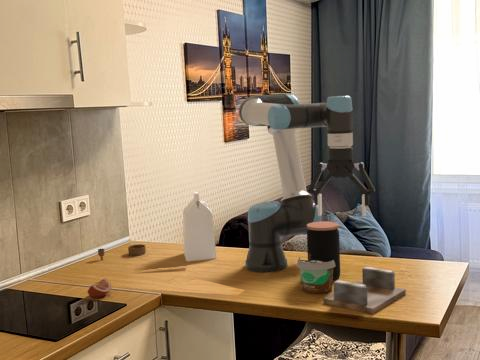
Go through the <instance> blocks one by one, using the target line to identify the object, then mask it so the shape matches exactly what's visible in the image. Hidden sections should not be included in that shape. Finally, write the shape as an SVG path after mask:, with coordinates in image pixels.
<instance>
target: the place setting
mask: <svg viewBox="0 0 480 360" xmlns="http://www.w3.org/2000/svg"><path fill="white" fill-rule="evenodd" d="M127 249H128V250H127V251H128V254H129V256H130V257H131V256H132V257H135V259H138V258H139V259H140V258H141V256H143V255H145V254H146V252H147V248H146V245H145V244H132V245H129V246H128V247H127ZM97 254H98V256H99V257H100V261H104V258H103V257H104V256H105V248H98V249H97ZM150 255H151V254H148V255H145V256H143V258H144V257H147V256H150ZM129 256H128V257H127V256H124V255H122V257H123V258H128V259H129V258H130V257H129ZM151 256H152V255H151Z"/></svg>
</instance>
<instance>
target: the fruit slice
mask: <svg viewBox="0 0 480 360" xmlns="http://www.w3.org/2000/svg"><path fill="white" fill-rule="evenodd" d="M111 290H112V285H111V283H110V282H109V281H108V279H107V278H103V279H101V280H100V281H98V282H95V283H93V284H92V285H91V286H89V289H88V290H87V294H88V295H89V296H90V297H93V298H101V297H104V296H105V295H107V294H109V292H111Z"/></svg>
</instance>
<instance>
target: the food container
mask: <svg viewBox="0 0 480 360" xmlns="http://www.w3.org/2000/svg"><path fill="white" fill-rule="evenodd" d="M296 266H297V267H298V268H299V273H300V274H299V276H300V281H301V288H302V292H303V293H305V292H306V294H308V293H309V294H308V295H325V294H329V293H331V292H332V291H333V282H334V280H333V268H334V267H335V262H334V260H332V261H330V262H323V261H319V260H308V259H307V260H306V259H301V257H300V256H299V257H298V259H297V263H296Z"/></svg>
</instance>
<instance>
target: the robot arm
mask: <svg viewBox="0 0 480 360" xmlns="http://www.w3.org/2000/svg"><path fill="white" fill-rule="evenodd" d="M352 102H353V100H352V97H351V96H350V95H336V96H328V97H327V99H326V102H316V103H314V102H313V103H302V104H301V103H300V101H299V99H298V98H297V97H296V96H295V95H293V94H291V93H288V94H287V93H280V94H261V95H252V96H249V97H247V98H245V99H244V100H243V101H242V102H241V103H240V105H239V107H238V116H239V120H241V122H242V123H244V124H246V125H247V126H251V127H267V128H266V129H267V132H268V133H269V134H270V135H272V138H273V143H274V148H275V154H276V160H277V166H278V171H279V177H280V182H281V187H282V192H283V197H282V198H281V200H280V201H278V200H271V201H263V202H262V201H261V202H259V203H255V204H252V205H251V206H250V207H249V208H248V210H247V223H248V241H249V242H248V243H249V247H248V251H247V255H246V259H245V263H244V264H245V269H246V270H247V271H249V272H254V273H260V274H261V273H263V274H264V273H265V274H267V273H277V272H280V271H283V270H286V269H288V259H287V257H286V254H285V251H284V248H283V243H282V239H283V238H284V237H293V236H299V235H303V236H304V235H305V236H307V231H308V228H307V224H309V223H312V222H322V215H323V198H322V197H323V195H322V193H320V192H321V191H322V190H323V189H324V187H325V186H326V185H327V184H328V183H329V182H330V180H331V179H332V178H335V179H338V178H342V179H343V178H344V179H346V178H347V177H348V178H349V179H350V180H351V181H352V182H353V184H355V186H356V187H357V188H358V189H359V190H360V192H362V195H361V215H362V216H361V217H362V218H366V216H367V207H368V206H369V205H370V195H372V194H374V193H375V192H376V188H375V186H374V185H373V183H372V180H371V178H370V177H369V175H368V173H367V171H366V169H365V162H364V161H363V162H362V161H361V162H358V163H355V162H354V148H353V147H352V146H353V145H354V137H353V136H354V134H353V110H354V109H353V103H352ZM306 128H307V129H308V128H327V129H326V130H327V147H329V148H328V149H327V163H323V162H319V163H318V164H317V170H316V173H315V175H314V177H313V179H312V181H311V183H310V186H309V187H308V190H307V185H306V181H305V175H304V170H303V169H304V168H303V166H302V165H303V164H302V160H301V155H300V149H299V144H298V139H297V134H296V131H297V129H306ZM355 168H356V170H357V171H359V173H360V175H361V177H362V178H363V181H364V183H365V185H366V186H365V185H364V184H363V183H362V181H360V179H359V178H358V176H356V174H355V173H354V172H353V171H354V169H355ZM326 169H327V170H328V171H329V173H328V174H327V176H326V177H325V178H324V179H323V181H322V182H321V183H320V184H319V185H318V187H316V186H317V184H318V182H319V179H320V178H321V175H322V173H323V171H325V170H326ZM315 188H316V189H315ZM312 195H313V196H312ZM313 198H314V199H313Z"/></svg>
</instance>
